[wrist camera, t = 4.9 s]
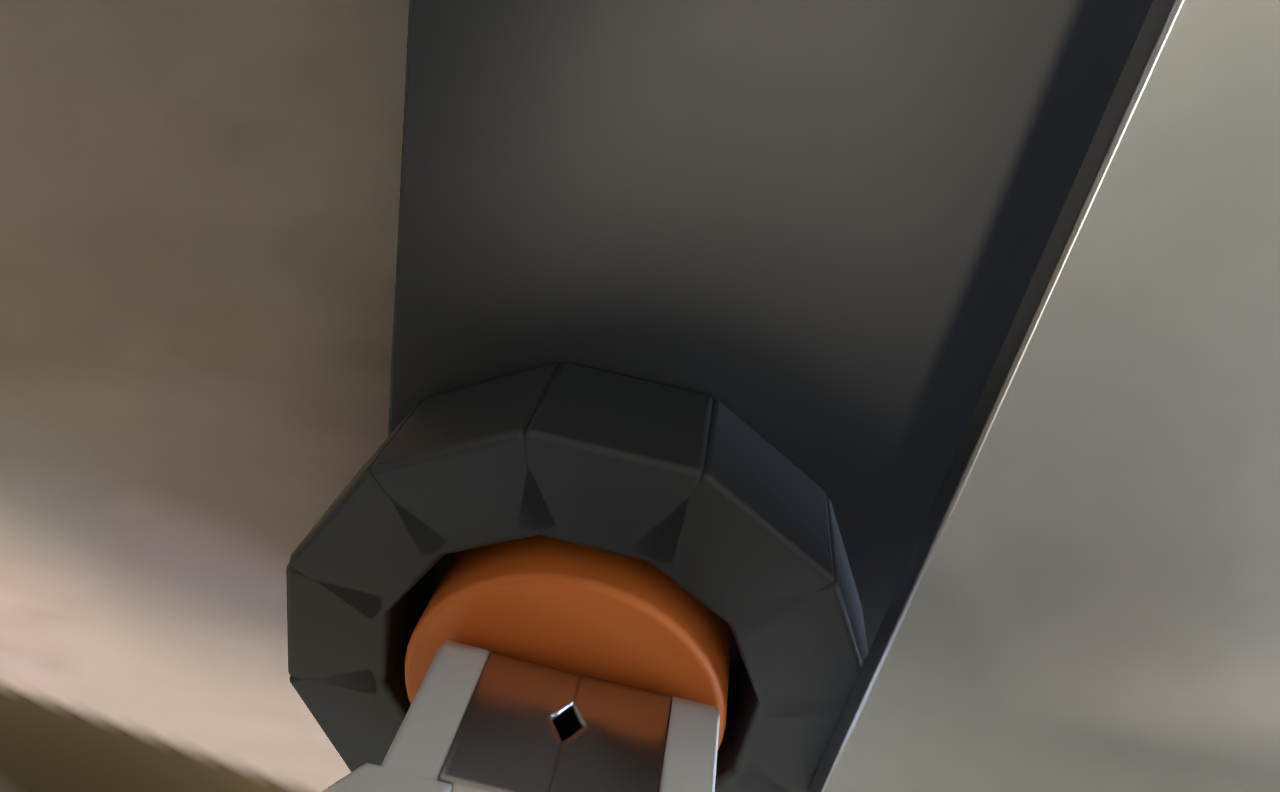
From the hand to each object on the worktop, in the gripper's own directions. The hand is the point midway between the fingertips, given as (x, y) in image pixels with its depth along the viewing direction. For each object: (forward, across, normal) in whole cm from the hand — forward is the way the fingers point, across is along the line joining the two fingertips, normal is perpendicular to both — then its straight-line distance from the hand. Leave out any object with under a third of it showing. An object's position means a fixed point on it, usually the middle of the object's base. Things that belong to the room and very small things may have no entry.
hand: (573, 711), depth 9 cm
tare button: (+2, 0, 0) cm, 2 cm away
